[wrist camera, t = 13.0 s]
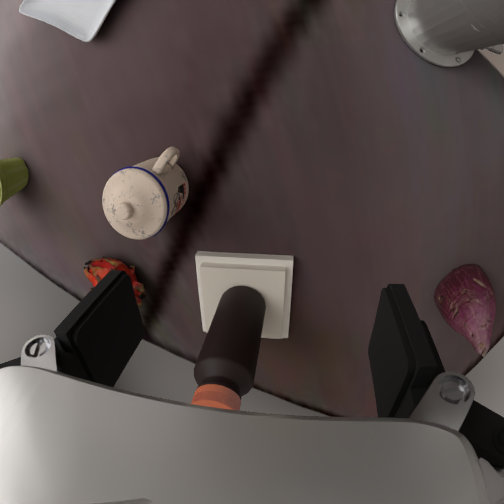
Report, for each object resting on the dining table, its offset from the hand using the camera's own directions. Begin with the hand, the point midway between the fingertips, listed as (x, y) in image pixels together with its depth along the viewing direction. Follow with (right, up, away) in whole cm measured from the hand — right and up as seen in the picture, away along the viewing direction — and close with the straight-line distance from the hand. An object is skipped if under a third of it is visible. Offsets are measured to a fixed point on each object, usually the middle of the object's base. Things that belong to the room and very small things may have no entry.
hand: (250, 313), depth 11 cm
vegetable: (+35, -4, +33) cm, 48 cm away
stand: (-1, -4, +38) cm, 38 cm away
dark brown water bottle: (-1, -5, +35) cm, 36 cm away
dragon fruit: (-22, -1, +40) cm, 45 cm away
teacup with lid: (-12, +13, +32) cm, 36 cm away
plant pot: (-43, +17, +34) cm, 57 cm away
